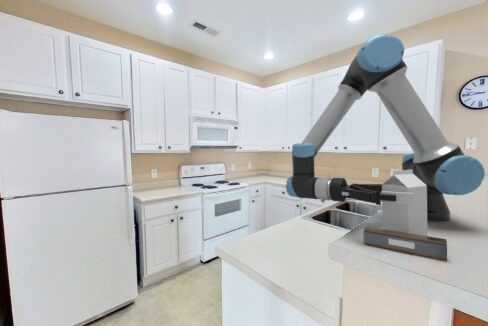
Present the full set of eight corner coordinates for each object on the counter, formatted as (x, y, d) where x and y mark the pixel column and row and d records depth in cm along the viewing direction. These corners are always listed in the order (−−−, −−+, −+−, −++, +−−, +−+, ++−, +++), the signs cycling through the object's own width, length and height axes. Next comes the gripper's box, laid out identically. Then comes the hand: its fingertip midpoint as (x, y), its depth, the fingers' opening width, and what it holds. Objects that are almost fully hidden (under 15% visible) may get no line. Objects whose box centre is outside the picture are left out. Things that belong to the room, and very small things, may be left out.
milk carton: (428, 242, 57) (426, 170, 56) (408, 247, 55) (407, 171, 54) (400, 233, 64) (399, 169, 63) (382, 237, 61) (381, 170, 61)
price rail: (366, 241, 59) (366, 226, 59) (446, 256, 49) (446, 239, 49) (363, 244, 57) (363, 229, 57) (447, 262, 46) (447, 243, 46)
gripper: (343, 194, 81) (416, 200, 67) (317, 208, 62) (412, 220, 48) (343, 174, 80) (416, 176, 67) (316, 181, 61) (411, 186, 48)
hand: (414, 194), depth 57 cm, fingers open, 13 cm apart
